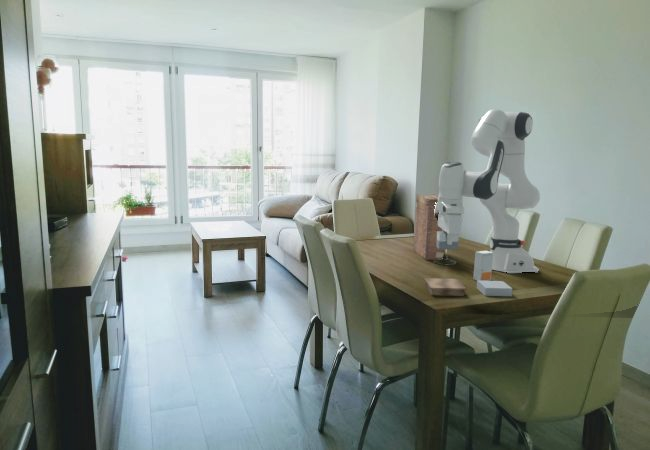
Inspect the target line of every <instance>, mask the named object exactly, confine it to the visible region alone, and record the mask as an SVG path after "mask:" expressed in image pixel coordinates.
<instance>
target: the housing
mask: <svg viewBox="0 0 650 450" xmlns="http://www.w3.org/2000/svg"><path fill="white" fill-rule="evenodd" d="M459 235H460V234H459ZM459 235H454V237H453V240H452V244H451V245H448V244H447V243H446V242H447V241H446V240H447V236H448V235H447V232H446V231H437V241H436V247H437V248H438V249H444V250H452V251H453V250H458V248H459V238H460V237H459Z"/></svg>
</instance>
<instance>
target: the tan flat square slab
mask: <svg viewBox="0 0 650 450" xmlns="http://www.w3.org/2000/svg"><path fill="white" fill-rule="evenodd" d="M423 280H424V281H425V282H424V283H425V284H424V286H425V288H426V290H427V291H428V292H429V293H430V295H431V296H453V297H455V296H456V297H464V296H465V291H467V288H466V286H464V285H463V283H462V282H460V280H459V279H457V278H435V277H432V278H431V277H430V278H429V277H424V278H423Z"/></svg>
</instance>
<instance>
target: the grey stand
mask: <svg viewBox="0 0 650 450" xmlns="http://www.w3.org/2000/svg"><path fill="white" fill-rule="evenodd" d="M476 289H477V290H479V292H480V293H482V295H484V296H487V297H488V296H489V297H513V287H511V286H510V285H509V284H507V283H506V282H505V281H503V280H490V281H479V280H476Z"/></svg>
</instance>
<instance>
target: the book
mask: <svg viewBox="0 0 650 450" xmlns="http://www.w3.org/2000/svg"><path fill="white" fill-rule="evenodd" d="M415 201H416V202H415V216H414V217H415V219H414V220H415V221H414V235H413V236H414V237H413V250H414V251H415V252H416V253H417V254H418V255H420V257H422V258H423V259H424V260H426V261H427V260H428V261H439V260H438V259H442V258H443V257H444V258H445V249H438V248H437V247H436V241H437V231H442V229H441V228H440V227H439V226H438V221H437V220H436V219H437V218H435V216H434V209H435V206H434V205H436V204H435V202H436V203H437V202H438V195H436V194H432V195H428V194H427V195H421V194H416V200H415Z"/></svg>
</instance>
